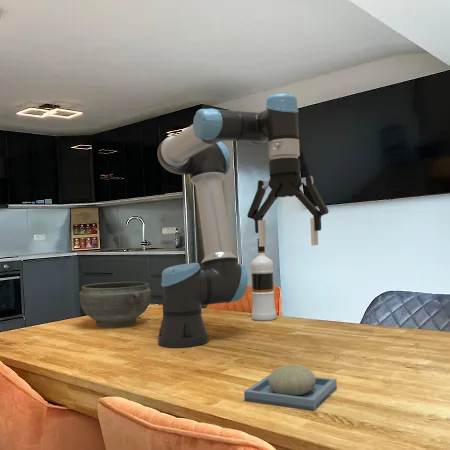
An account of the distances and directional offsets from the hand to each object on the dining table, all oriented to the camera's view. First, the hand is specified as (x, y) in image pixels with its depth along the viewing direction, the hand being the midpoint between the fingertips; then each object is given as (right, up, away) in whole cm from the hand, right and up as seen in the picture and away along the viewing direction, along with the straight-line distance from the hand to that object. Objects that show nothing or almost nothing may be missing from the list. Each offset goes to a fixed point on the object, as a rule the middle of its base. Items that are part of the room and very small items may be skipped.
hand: (288, 245), depth 123 cm
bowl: (-56, -32, +66) cm, 92 cm away
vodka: (-1, -30, +64) cm, 70 cm away
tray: (-2, -29, -23) cm, 36 cm away
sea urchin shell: (-2, -28, -23) cm, 36 cm away
